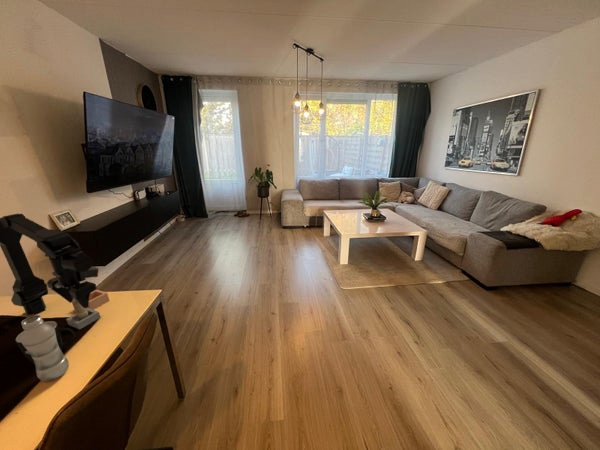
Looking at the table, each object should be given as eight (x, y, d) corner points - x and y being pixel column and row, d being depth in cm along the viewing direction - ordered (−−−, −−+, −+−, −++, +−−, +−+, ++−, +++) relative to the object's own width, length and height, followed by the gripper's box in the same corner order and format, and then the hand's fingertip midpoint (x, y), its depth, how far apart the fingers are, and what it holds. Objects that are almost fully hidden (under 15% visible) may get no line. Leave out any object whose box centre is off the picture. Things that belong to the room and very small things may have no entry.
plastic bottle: (53, 366, 74) (29, 312, 68) (77, 364, 74) (54, 310, 68) (33, 386, 68) (4, 329, 61) (59, 383, 68) (32, 327, 62)
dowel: (78, 323, 91) (69, 301, 88) (87, 318, 94) (79, 296, 90) (83, 325, 90) (74, 303, 87) (92, 320, 93) (84, 298, 89)
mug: (24, 373, 72) (10, 347, 68) (32, 353, 79) (20, 329, 75) (77, 354, 78) (66, 329, 75) (80, 337, 85) (71, 313, 82)
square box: (81, 308, 100) (77, 298, 98) (100, 299, 106) (97, 289, 105) (91, 312, 98) (88, 302, 96) (110, 302, 104) (107, 292, 102)
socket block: (69, 326, 90) (66, 319, 89) (90, 315, 96) (87, 307, 95) (80, 331, 88) (77, 323, 86) (101, 319, 94) (98, 311, 93)
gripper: (106, 261, 88) (117, 297, 93) (77, 254, 95) (88, 288, 100) (69, 276, 78) (84, 316, 83) (39, 267, 85) (54, 304, 90)
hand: (79, 304), depth 89 cm, fingers open, 9 cm apart
